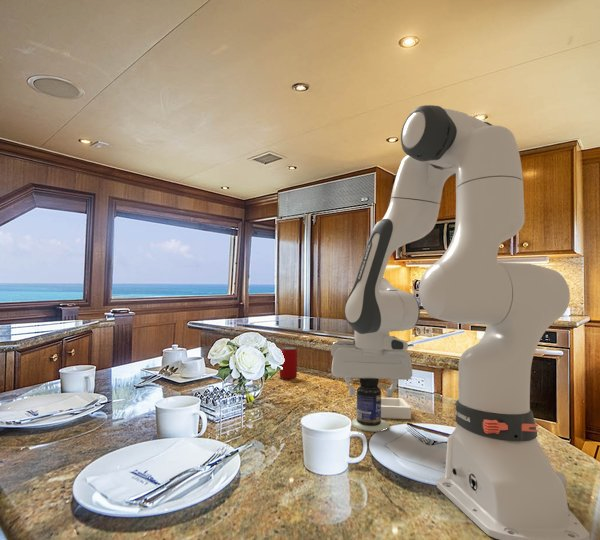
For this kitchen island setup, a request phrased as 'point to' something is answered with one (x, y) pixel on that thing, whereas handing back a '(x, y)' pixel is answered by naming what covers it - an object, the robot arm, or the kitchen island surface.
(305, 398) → the kitchen island surface
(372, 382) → the pill bottle
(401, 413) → the pocket
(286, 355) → the beverage can
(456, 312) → the robot arm
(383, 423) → the coaster
